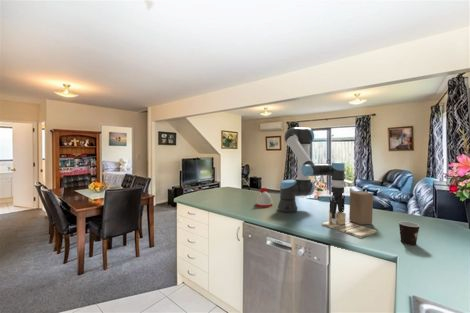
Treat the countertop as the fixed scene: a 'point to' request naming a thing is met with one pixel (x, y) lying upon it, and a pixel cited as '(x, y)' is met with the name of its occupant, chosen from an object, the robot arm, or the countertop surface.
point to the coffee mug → (408, 232)
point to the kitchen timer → (264, 199)
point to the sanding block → (338, 218)
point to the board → (351, 229)
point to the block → (361, 207)
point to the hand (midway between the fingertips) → (336, 222)
